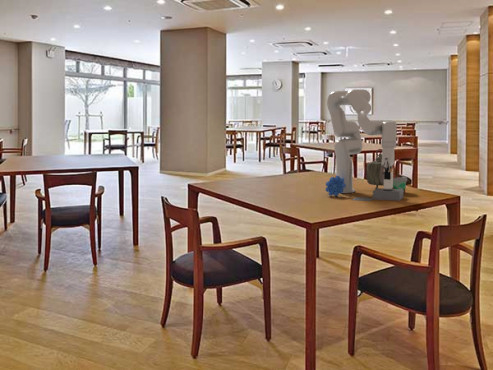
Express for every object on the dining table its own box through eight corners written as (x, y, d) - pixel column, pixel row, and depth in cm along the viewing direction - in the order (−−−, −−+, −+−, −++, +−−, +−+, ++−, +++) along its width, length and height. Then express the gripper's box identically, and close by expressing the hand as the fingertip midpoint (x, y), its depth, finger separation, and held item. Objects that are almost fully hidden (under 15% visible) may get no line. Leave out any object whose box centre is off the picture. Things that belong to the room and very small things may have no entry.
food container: (399, 196, 273) (399, 178, 272) (389, 195, 278) (389, 177, 276) (411, 193, 281) (411, 176, 279) (402, 192, 285) (402, 175, 284)
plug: (383, 188, 264) (383, 169, 262) (385, 187, 267) (385, 168, 266) (391, 189, 261) (391, 169, 260) (393, 187, 265) (393, 168, 264)
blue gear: (347, 195, 282) (347, 174, 281) (344, 197, 276) (344, 176, 274) (327, 194, 287) (326, 174, 285) (324, 196, 280) (324, 175, 279)
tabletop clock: (378, 192, 288) (378, 150, 284) (365, 191, 295) (365, 149, 291) (392, 189, 297) (392, 148, 294) (379, 188, 304) (380, 147, 300)
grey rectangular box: (372, 200, 264) (372, 190, 263) (377, 197, 273) (377, 188, 272) (399, 201, 257) (399, 192, 257) (403, 198, 266) (403, 189, 265)
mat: (351, 201, 264) (351, 199, 264) (356, 197, 272) (356, 196, 272) (369, 202, 259) (369, 200, 259) (374, 198, 268) (374, 197, 268)
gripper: (385, 143, 270) (384, 176, 273) (377, 145, 255) (377, 180, 258) (399, 143, 266) (398, 177, 269) (392, 146, 252) (391, 181, 255)
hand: (388, 178), depth 264 cm, fingers closed on plug, 4 cm apart
